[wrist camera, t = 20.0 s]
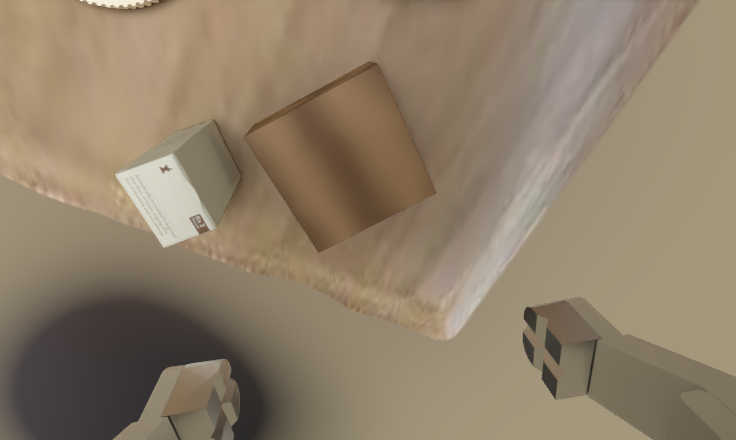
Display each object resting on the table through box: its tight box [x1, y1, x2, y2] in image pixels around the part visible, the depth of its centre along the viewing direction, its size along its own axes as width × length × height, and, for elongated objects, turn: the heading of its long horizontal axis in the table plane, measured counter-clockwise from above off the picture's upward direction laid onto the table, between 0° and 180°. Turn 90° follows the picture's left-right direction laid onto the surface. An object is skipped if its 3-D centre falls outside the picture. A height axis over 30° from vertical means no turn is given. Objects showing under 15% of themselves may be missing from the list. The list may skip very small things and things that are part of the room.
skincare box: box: [115, 120, 241, 248], centre depth 31 cm, size 6×4×12 cm
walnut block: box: [244, 62, 436, 252], centre depth 35 cm, size 12×12×6 cm
